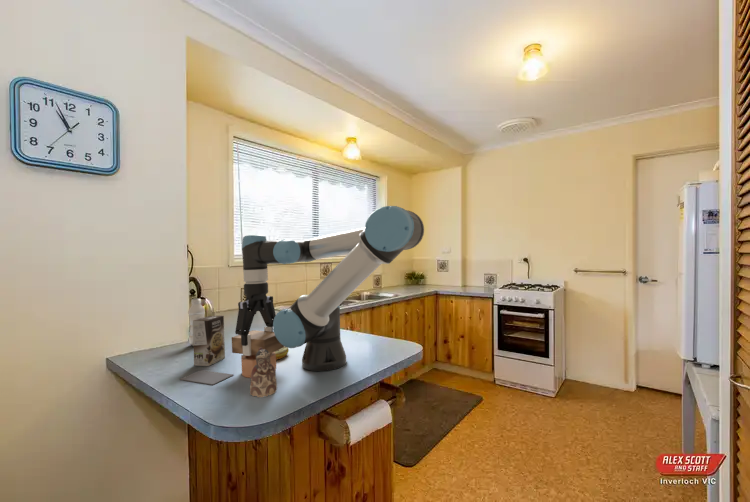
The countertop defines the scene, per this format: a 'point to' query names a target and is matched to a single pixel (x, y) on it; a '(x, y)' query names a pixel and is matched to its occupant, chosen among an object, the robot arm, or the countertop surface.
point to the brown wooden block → (257, 342)
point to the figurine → (263, 375)
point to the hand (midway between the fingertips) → (258, 350)
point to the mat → (206, 377)
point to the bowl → (254, 363)
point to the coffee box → (208, 340)
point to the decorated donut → (281, 352)
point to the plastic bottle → (195, 315)
